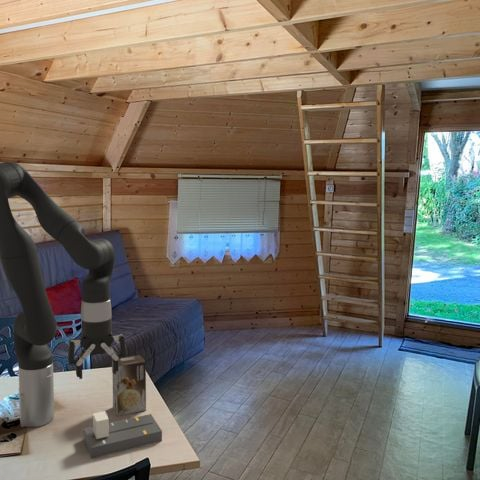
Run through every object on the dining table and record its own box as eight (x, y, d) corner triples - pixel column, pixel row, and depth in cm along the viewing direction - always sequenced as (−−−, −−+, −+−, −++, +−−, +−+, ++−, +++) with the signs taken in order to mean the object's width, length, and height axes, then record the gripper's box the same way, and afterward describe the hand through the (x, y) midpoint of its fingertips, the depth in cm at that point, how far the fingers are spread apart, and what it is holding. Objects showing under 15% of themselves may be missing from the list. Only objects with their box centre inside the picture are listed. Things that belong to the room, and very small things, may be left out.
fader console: (91, 458, 120) (91, 447, 120) (84, 438, 129) (84, 428, 129) (161, 440, 129) (162, 430, 129) (150, 423, 138) (150, 413, 138)
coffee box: (140, 401, 151) (141, 354, 149) (146, 410, 145) (146, 361, 143) (112, 407, 147) (111, 358, 144) (116, 416, 141) (116, 366, 139)
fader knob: (96, 439, 123) (96, 421, 123) (93, 430, 127) (93, 413, 126) (108, 436, 125) (108, 418, 124) (105, 428, 129) (105, 411, 128)
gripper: (68, 323, 115) (70, 385, 117) (127, 317, 120) (127, 377, 123) (66, 314, 121) (67, 373, 124) (121, 309, 127) (122, 365, 130)
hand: (97, 375), depth 123 cm, fingers open, 8 cm apart
